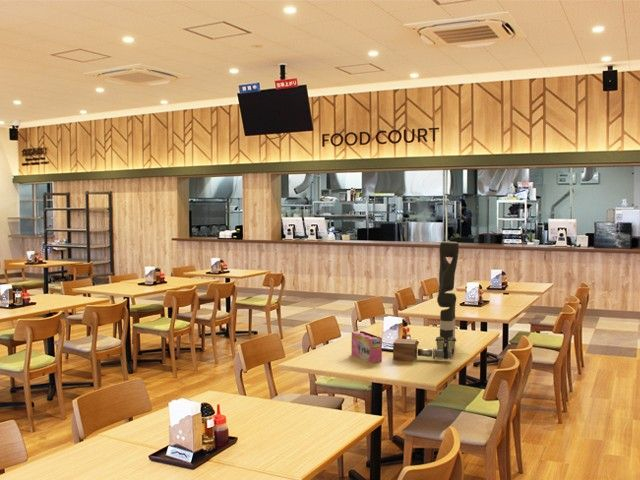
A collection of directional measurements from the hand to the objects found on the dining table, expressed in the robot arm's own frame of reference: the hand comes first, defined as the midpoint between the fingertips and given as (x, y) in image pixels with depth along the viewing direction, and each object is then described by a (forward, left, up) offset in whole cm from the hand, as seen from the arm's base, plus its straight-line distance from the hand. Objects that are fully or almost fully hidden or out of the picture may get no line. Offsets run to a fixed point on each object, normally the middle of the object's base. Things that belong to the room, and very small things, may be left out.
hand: (446, 358), depth 375 cm
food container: (-18, -2, -2) cm, 18 cm away
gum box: (+4, -45, -2) cm, 46 cm away
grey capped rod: (0, -7, -1) cm, 7 cm away
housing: (0, -23, -2) cm, 23 cm away
